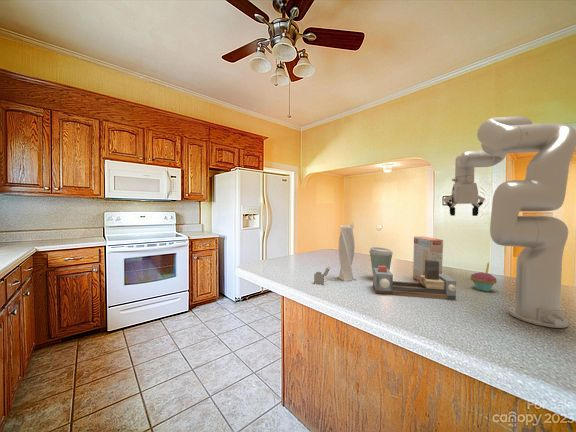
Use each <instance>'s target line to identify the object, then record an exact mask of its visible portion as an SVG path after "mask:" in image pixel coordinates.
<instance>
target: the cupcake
mask: <svg viewBox="0 0 576 432" xmlns="http://www.w3.org/2000/svg"><path fill="white" fill-rule="evenodd" d="M489 268H490V261H488V262H487V263H486V269H485V272H484V271H483V272H481V271H480V272H475V273H472V274H471V275H470V280H471V281H472V282H473V284H474V287H475V289H476V290H479V291H482V292H490V291H491V290H492V288H493V286H494V284H497V278H496V277H495V276H494V275H492V274H490V273H488V272H489Z"/></svg>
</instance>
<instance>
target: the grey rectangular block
mask: <svg viewBox="0 0 576 432" xmlns="http://www.w3.org/2000/svg"><path fill="white" fill-rule="evenodd" d="M439 279H441V280H442V281H444V290H446V295H447V299H446V300H449V299H448V295H451V296H452V297H453V296H456V297H457V281H456V280H455V279H453V278H452V277H450V276H448V275H446V274H445V273H442V274H439ZM452 297H451V299H452ZM449 298H450V296H449ZM451 299H450V300H451ZM452 300H453V301H455V300H454V297H453V299H452Z"/></svg>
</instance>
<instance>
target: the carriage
mask: <svg viewBox="0 0 576 432" xmlns="http://www.w3.org/2000/svg"><path fill="white" fill-rule="evenodd" d="M419 283H421V284H422V285H423V286H425V287H426V288H427V289H441V290H444V281H442V280H441V279H439V262H438V261H436V260H425V276H423V275H420V282H419Z"/></svg>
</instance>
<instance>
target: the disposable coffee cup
mask: <svg viewBox="0 0 576 432" xmlns="http://www.w3.org/2000/svg"><path fill="white" fill-rule="evenodd" d="M368 251H369V255H370V262H371V269H372V272H373V268H378V265H380V266H386V267H387V269H388V270H389V271H390V270H391V264H392V258H393V251H392V250H391V249H389V248H386V247H385V248H384V247H379V246H378V247H377V246H371V247H370V249H369V250H368ZM390 272H391V271H390Z"/></svg>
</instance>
